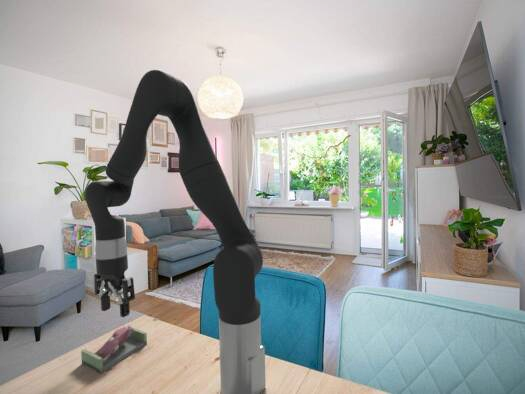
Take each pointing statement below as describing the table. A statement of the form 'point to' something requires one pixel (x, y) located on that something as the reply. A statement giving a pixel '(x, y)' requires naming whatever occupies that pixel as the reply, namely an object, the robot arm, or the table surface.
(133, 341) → the tray
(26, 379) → the table surface
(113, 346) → the video game controller
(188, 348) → the table surface
